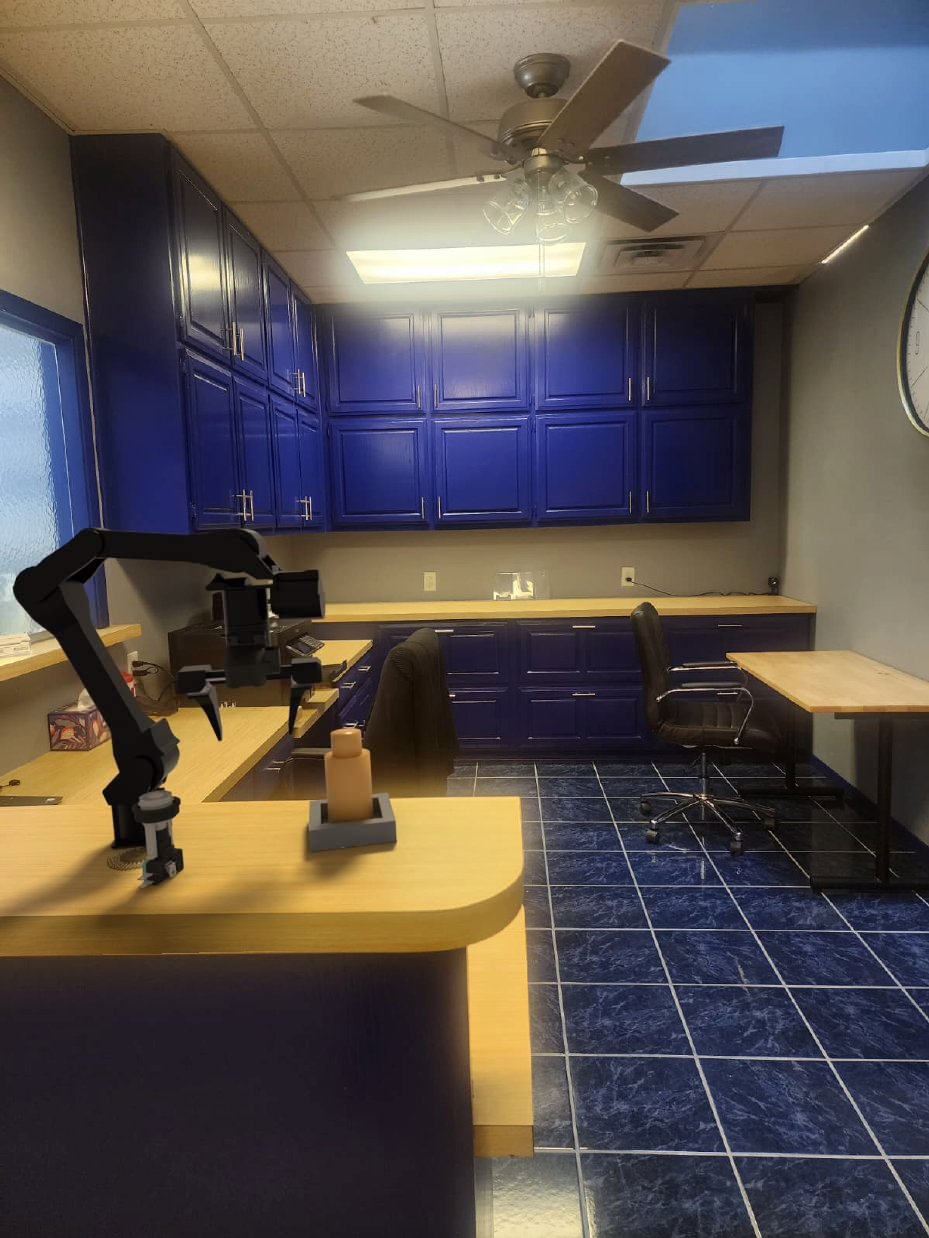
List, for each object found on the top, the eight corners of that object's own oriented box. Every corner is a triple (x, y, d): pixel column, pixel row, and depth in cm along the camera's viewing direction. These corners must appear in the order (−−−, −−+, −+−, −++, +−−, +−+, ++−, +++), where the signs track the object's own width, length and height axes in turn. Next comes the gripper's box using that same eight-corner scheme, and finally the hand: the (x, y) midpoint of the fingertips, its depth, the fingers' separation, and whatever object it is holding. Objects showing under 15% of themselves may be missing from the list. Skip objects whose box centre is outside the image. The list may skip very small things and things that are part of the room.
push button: (159, 894, 83) (151, 809, 81) (120, 890, 84) (112, 806, 83) (196, 868, 89) (189, 788, 88) (159, 864, 90) (151, 786, 89)
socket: (310, 851, 92) (308, 830, 92) (310, 820, 103) (309, 800, 103) (396, 841, 94) (395, 820, 94) (388, 811, 105) (387, 792, 105)
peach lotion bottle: (336, 838, 95) (330, 740, 93) (323, 823, 100) (317, 730, 99) (380, 828, 97) (374, 733, 96) (365, 814, 103) (360, 724, 101)
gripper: (160, 635, 88) (171, 761, 89) (318, 625, 91) (326, 746, 93) (177, 625, 98) (187, 738, 100) (318, 616, 102) (325, 725, 104)
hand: (255, 737), depth 99 cm, fingers open, 9 cm apart
